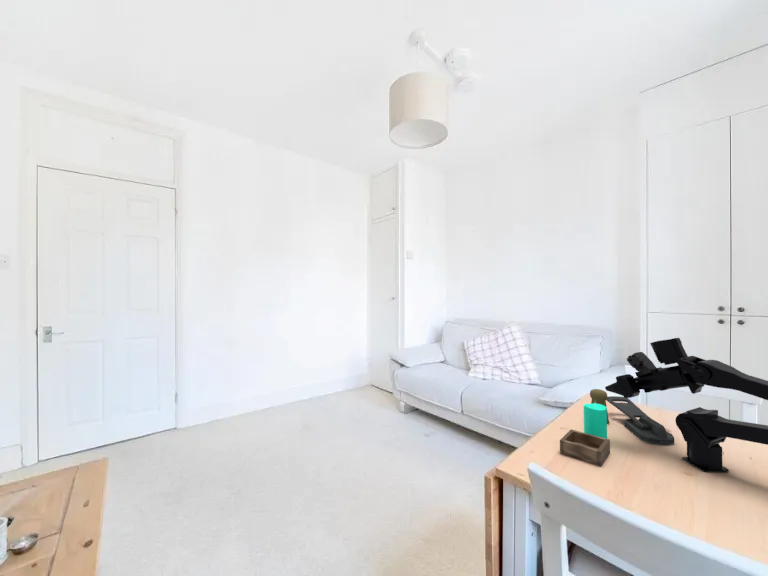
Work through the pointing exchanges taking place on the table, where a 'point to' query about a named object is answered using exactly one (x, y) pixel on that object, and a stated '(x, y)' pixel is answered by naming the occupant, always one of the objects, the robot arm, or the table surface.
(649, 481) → the table surface
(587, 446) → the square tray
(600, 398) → the cork
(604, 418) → the candle
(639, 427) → the zipper pull
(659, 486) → the table surface
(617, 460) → the table surface
